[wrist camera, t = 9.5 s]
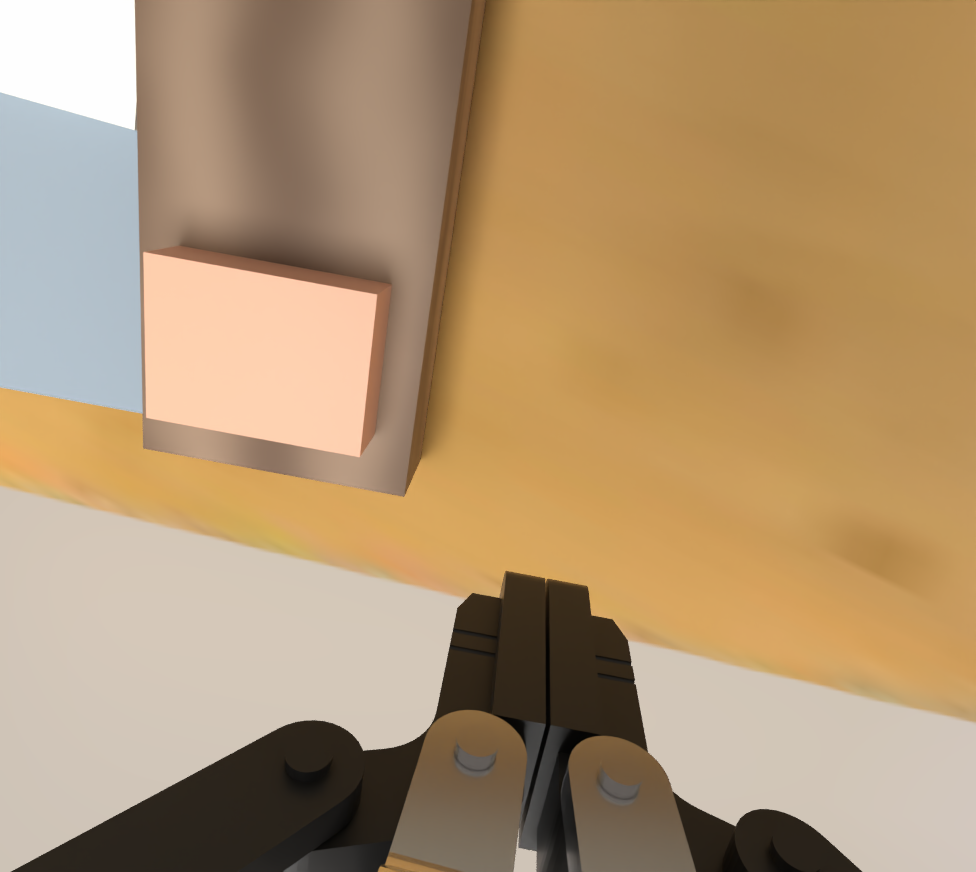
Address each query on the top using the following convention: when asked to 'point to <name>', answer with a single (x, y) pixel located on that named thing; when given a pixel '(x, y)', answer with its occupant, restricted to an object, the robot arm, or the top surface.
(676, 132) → the top surface
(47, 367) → the slate mat
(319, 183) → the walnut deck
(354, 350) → the terracotta tile
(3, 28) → the cream tile
